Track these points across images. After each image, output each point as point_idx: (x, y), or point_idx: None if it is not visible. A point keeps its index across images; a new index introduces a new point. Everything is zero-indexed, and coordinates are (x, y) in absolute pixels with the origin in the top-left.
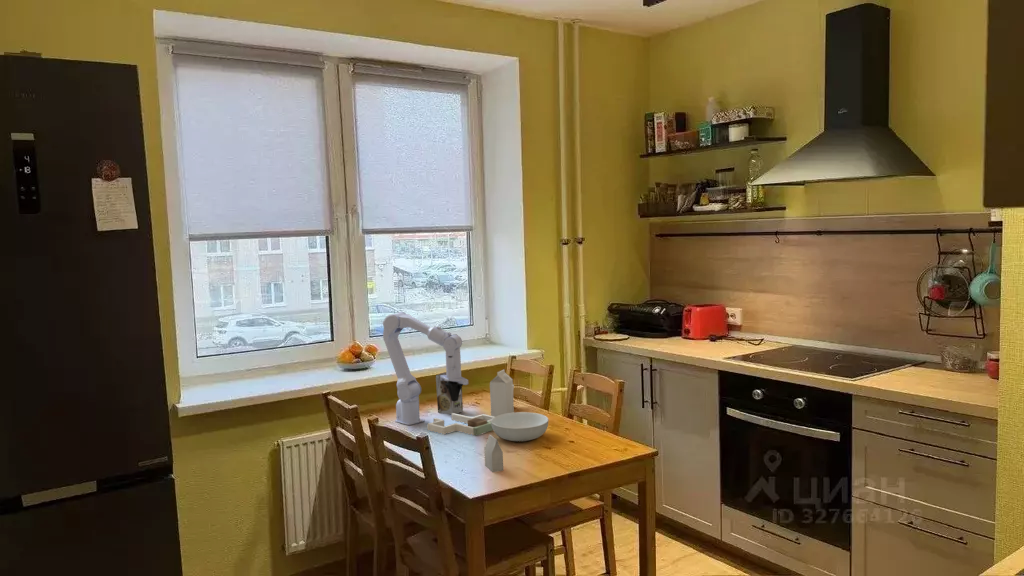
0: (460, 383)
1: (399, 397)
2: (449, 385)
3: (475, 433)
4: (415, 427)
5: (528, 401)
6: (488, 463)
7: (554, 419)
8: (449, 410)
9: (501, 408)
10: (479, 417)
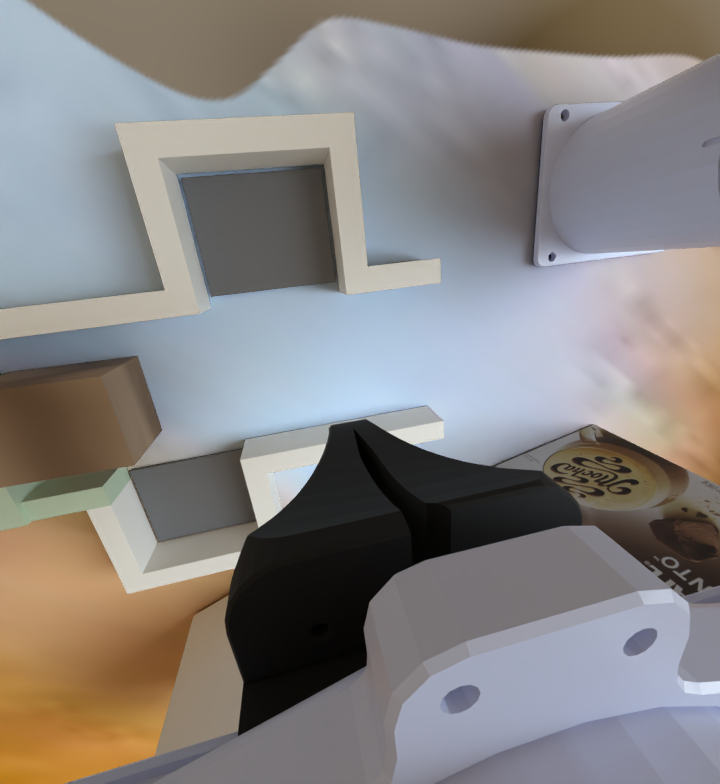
0: (124, 774)
1: None
2: (389, 511)
3: None
4: (472, 116)
5: None
6: None
7: (54, 765)
8: (536, 463)
9: (207, 665)
10: (257, 514)
